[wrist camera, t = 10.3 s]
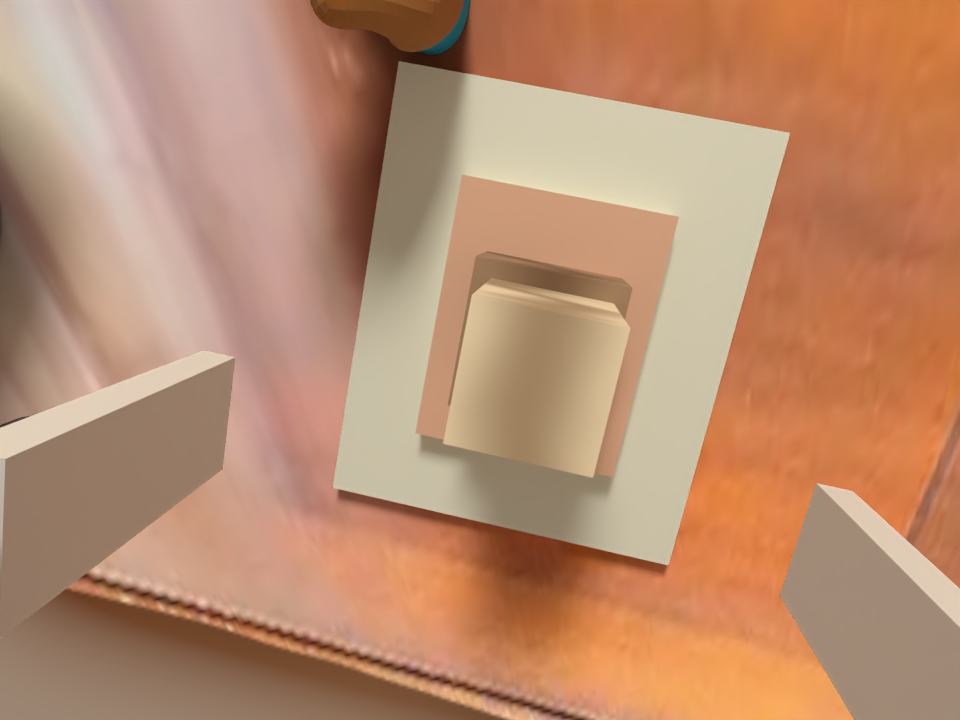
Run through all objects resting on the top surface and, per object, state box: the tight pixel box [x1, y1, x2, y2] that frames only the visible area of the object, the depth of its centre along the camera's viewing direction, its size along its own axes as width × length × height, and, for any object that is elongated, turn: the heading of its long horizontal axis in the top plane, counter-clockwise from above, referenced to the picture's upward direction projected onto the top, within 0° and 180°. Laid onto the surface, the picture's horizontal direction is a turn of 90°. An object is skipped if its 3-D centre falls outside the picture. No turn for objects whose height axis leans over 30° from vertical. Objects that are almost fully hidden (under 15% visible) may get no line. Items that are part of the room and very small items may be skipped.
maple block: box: [443, 278, 630, 478], centre depth 27 cm, size 6×6×7 cm
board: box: [333, 61, 790, 565], centre depth 37 cm, size 20×24×2 cm
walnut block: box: [448, 251, 633, 406], centre depth 33 cm, size 7×7×5 cm
